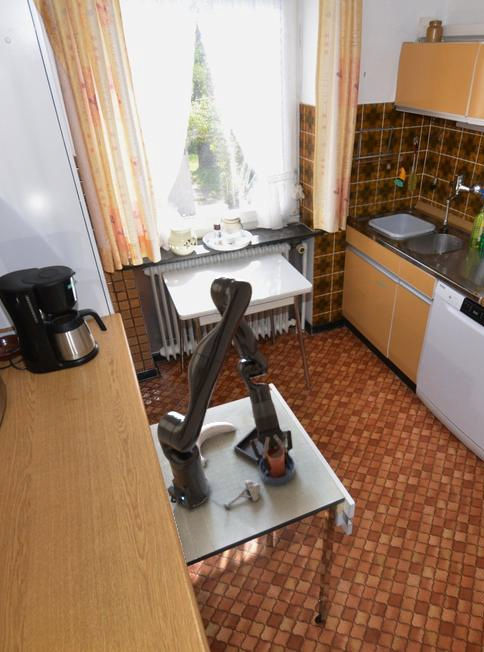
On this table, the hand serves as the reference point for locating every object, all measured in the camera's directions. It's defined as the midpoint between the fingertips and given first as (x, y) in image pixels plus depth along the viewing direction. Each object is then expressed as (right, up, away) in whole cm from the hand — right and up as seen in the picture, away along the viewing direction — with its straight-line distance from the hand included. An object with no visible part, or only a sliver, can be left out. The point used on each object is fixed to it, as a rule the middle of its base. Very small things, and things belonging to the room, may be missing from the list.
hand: (278, 467), depth 141 cm
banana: (-23, +3, +16) cm, 28 cm away
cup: (0, -3, +4) cm, 5 cm away
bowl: (0, -3, +4) cm, 5 cm away
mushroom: (-11, -9, -3) cm, 14 cm away
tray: (-6, +3, +15) cm, 16 cm away
